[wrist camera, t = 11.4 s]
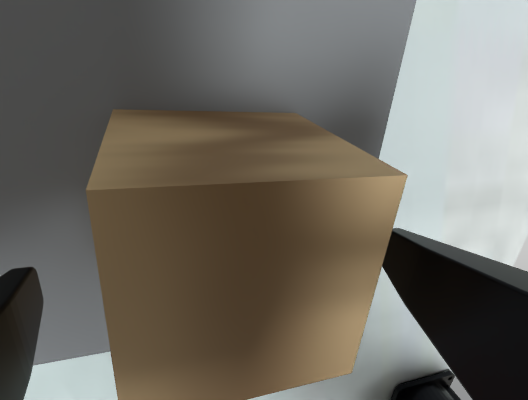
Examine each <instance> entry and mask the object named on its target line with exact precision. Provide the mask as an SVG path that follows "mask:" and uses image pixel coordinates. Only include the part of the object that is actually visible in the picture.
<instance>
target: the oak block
mask: <svg viewBox="0 0 528 400" xmlns="http://www.w3.org/2000/svg"><path fill="white" fill-rule="evenodd" d="M406 179H407V175H406V174H404V173H403V172H401V171H399V170H397V169H395V168H394V167H392V166H390V165H388V164H386V163H385V162H383V161H381V160H379V159H377V158H376V157H374V156H372V155H370V154H368V153H367V152H365V151H363V150H361V149H360V148H358V147H356V146H354V145H352V144H351V143H349V142H347V141H345V140H343V139H342V138H340V137H338V136H336V135H334V134H333V133H331V132H329V131H327V130H325V129H324V128H322V127H320V126H318V125H316V124H315V123H313V122H311V121H309V120H307V119H306V118H304V117H302V116H300V115H298V114H297V113H270V112H221V111H172V110H123V109H113V111H112V114H111V117H110V120H109V123H108V126H107V129H106V132H105V134H104V137H103V140H102V143H101V146H100V149H99V152H98V155H97V158H96V161H95V164H94V167H93V170H92V173H91V176H90V179H89V182H88V185H87V188H86V195H87V202H88V208H89V215H90V221H91V228H92V234H93V241H94V247H95V254H96V260H97V267H98V273H99V280H100V286H101V293H102V299H103V306H104V312H105V319H106V325H107V331H108V338H109V344H110V351H111V357H112V364H113V370H114V377H115V383H116V390H117V396H118V400H247V399H251V398H255V397H259V396H263V395H267V394H271V393H275V392H279V391H283V390H287V389H291V388H294V387H298V386H302V385H306V384H310V383H314V382H318V381H322V380H326V379H330V378H334V377H338V376H342V375H346V374H350V373H352V370H353V367H354V363H355V360H356V356H357V352H358V349H359V345H360V342H361V338H362V335H363V331H364V328H365V324H366V321H367V317H368V313H369V310H370V306H371V303H372V299H373V296H374V292H375V289H376V285H377V282H378V278H379V275H380V271H381V267H382V264H383V260H384V257H385V253H386V250H387V246H388V243H389V239H390V236H391V232H392V229H393V225H394V221H395V218H396V214H397V211H398V207H399V204H400V200H401V197H402V193H403V190H404V186H405V182H406Z"/></svg>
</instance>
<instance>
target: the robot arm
mask: <svg viewBox="0 0 528 400" xmlns="http://www.w3.org/2000/svg"><path fill="white" fill-rule="evenodd" d="M382 267H383V268H384V270H385V272H386V273H387V275H388V277H389V279H390V280H391V282H392V284H393V286H394V287H395V289H396V291H397V292H398V294H399V296H400V298H401V299H402V301H403V302H404V304H405V305H406V307H407V308H408V310H409V311H410V313H411V314H412V315H413V317H414V318H415V320H416V321H417V322H418V324H419V325H420V327H421V328H422V329H423V331H424V332H425V334H426V335H427V337H428V338H429V339H430V341H431V342H432V344H433V345H434V346H435V348H436V349H437V351H438V352H439V353H440V355H441V356H442V358H443V359H444V360H445V362H446V363H447V365H448V366H449V367H450V369H451V370H452V372H453V373H454V374H455V375H454V374H453V373H452V372H451V371H447V372H444V373H440V374H437V375H433V376H429V377H426V378H422V379H419V380H415V381H411V382H408V383H404V384H401V385H399V386H397V387H396V389H395V391H394V394H393V396H392V399H391V400H460V398H459V397H458V396H457V395H456V394H455V392H454V391H453V390H452V389H451V388H450V385H451V383H452V381H453V379H454V377H455V376H456V377H457V379H458V380H459V382H460V383H461V384H462V386H463V387H464V388H465V390H466V391H467V393H468V394H469V395H470V397H471V398H472V400H528V272H527V271H524V270H521V269H518V268H515V267H512V266H509V265H506V264H503V263H500V262H498V261H495V260H492V259H489V258H486V257H483V256H480V255H477V254H474V253H471V252H468V251H465V250H462V249H459V248H456V247H453V246H450V245H447V244H444V243H441V242H438V241H436V240H433V239H430V238H427V237H424V236H421V235H418V234H415V233H412V232H409V231H406V230H403V229H400V228H393V229H392V232H391V236H390V239H389V243H388V246H387V250H386V253H385V257H384V260H383V264H382ZM43 304H44V300H43V294H42V290H41V286H40V282H39V278H38V274H37V271H36V269H35V268H34V267H23V268H14V269H11V270H9V271H8V272H6V273H5V274H3V275H2V276H0V400H23V399H24V396H25V393H26V390H27V386H28V383H29V379H30V376H31V372H32V367H33V362H34V357H35V351H36V345H37V340H38V334H39V328H40V323H41V317H42V311H43Z"/></svg>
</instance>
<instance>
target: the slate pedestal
mask: <svg viewBox="0 0 528 400" xmlns="http://www.w3.org/2000/svg"><path fill="white" fill-rule="evenodd" d="M415 4H416V0H0V276H2V275H3V274H5V273H6V272H8V271H9V270H11V269H14V268H23V267H34V268H35V269H36V271H37V274H38V278H39V282H40V286H41V290H42V294H43V300H44V304H43V311H42V317H41V323H40V328H39V334H38V340H37V345H36V351H35V357H34V362H33V365H38V364H44V363H49V362H55V361H60V360H66V359H71V358H76V357H82V356H87V355H93V354H98V353H104V352H109V351H110V344H109V338H108V331H107V325H106V319H105V312H104V306H103V299H102V293H101V286H100V280H99V273H98V267H97V260H96V254H95V247H94V241H93V234H92V228H91V221H90V215H89V208H88V202H87V195H86V188H87V185H88V182H89V179H90V176H91V173H92V170H93V167H94V164H95V161H96V158H97V155H98V152H99V149H100V146H101V143H102V140H103V137H104V134H105V132H106V129H107V126H108V123H109V120H110V117H111V114H112V111H113V109H123V110H172V111H221V112H270V113H297V114H298V115H300V116H302V117H304V118H306V119H307V120H309V121H311V122H313V123H315V124H316V125H318V126H320V127H322V128H324V129H325V130H327V131H329V132H331V133H333V134H334V135H336V136H338V137H340V138H342V139H343V140H345V141H347V142H349V143H351V144H352V145H354V146H356V147H358V148H360V149H361V150H363V151H365V152H367V153H368V154H370V155H372V156H374V157H376V158H377V159H379V155H380V150H381V146H382V142H383V138H384V134H385V129H386V125H387V121H388V117H389V113H390V108H391V104H392V100H393V96H394V92H395V87H396V83H397V79H398V75H399V71H400V67H401V62H402V58H403V54H404V50H405V46H406V41H407V37H408V33H409V29H410V25H411V20H412V16H413V12H414V8H415Z"/></svg>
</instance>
